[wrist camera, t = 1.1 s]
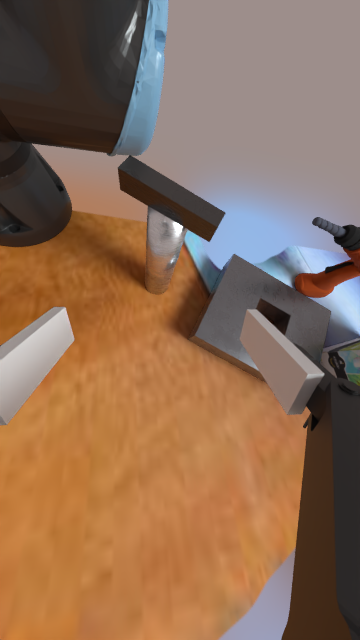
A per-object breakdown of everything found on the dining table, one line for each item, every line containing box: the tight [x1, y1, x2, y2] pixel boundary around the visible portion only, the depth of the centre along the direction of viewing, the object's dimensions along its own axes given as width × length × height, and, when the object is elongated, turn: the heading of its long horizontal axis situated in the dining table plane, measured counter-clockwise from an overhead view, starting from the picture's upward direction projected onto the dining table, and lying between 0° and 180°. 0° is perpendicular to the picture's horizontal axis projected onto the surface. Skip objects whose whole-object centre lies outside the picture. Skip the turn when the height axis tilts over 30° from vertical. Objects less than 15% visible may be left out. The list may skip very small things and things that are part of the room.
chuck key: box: [118, 155, 225, 295], centre depth 22 cm, size 9×4×17 cm, turn 63°
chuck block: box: [188, 254, 331, 383], centre depth 30 cm, size 20×16×4 cm
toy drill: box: [295, 217, 360, 298], centre depth 29 cm, size 5×19×15 cm, turn 84°
